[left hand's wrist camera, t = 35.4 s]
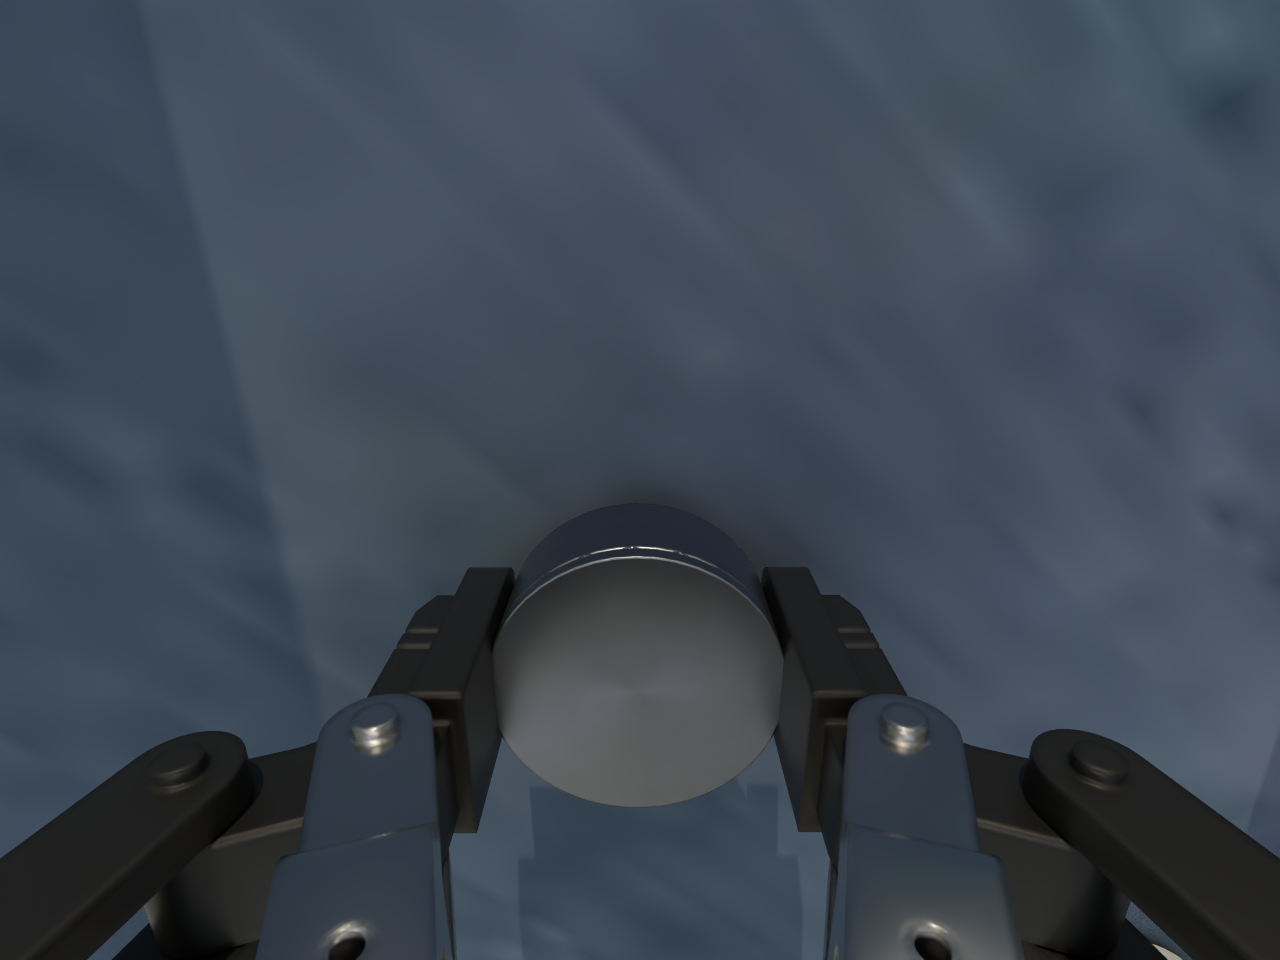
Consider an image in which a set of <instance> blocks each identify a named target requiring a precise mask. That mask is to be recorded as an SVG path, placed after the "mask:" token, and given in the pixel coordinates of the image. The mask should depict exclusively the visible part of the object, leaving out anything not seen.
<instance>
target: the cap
mask: <svg viewBox="0 0 1280 960" xmlns="http://www.w3.org/2000/svg"><path fill="white" fill-rule="evenodd" d="M492 661H493V673H494V684H495V696H496V707H497V719H498V729H499V731H500V733H501V735H502V737H503V739H504V740H505V742H506V743H507V744H508V746H509V747H510V749H511V750H512V752H513V753H514V754H515V755H516V756H517V757H518V758H519V759H520V760H521V761H522V763H523V764H524V765H525V766H527V767H528V768H529V769H530V770H531V771H533V772H534V773H535V774H536V775H537V776H539V777H540V778H542V779H543V780H545V781H546V782H548V783H549V784H551V785H553V786H555V787H557V788H558V789H560V790H562V791H564V792H566V793H569V794H571V795H574V796H577V797H579V798H582V799H585V800H588V801H592V802H596V803H600V804H605V805H612V806H619V807H637V808H639V807H657V806H663V805H669V804H675V803H679V802H683V801H686V800H690V799H693V798H696V797H698V796H701V795H704V794H706V793H709V792H711V791H713V790H715V789H716V788H718V787H720V786H722V785H724V784H726V783H727V782H729V781H730V780H732V779H733V778H735V777H736V776H738V775H739V774H740V773H741V772H742V771H744V770H745V769H746V768H747V767H748V766H749V765H750V764H752V763H753V761H754V760H755V759H756V758H757V757H758V756H759V755H760V754H761V752H762V751H763V750H764V749H765V747H766V746H767V744H768V743H769V741H770V740H771V738H772V737H773V735H774V732H775V730H776V728H777V726H778V722H779V711H780V699H781V687H782V675H783V663H784V653H783V650H782V647H781V644H780V641H779V637H778V634H777V632H776V629H775V625H774V622H773V619H772V616H771V613H770V610H769V607H768V604H767V601H766V598H765V595H764V592H763V589H762V586H761V583H760V580H759V578H758V576H757V574H756V571H755V569H754V567H753V565H752V564H751V562H750V561H749V559H748V558H747V556H746V555H745V554H744V552H743V551H742V550H741V549H740V548H739V547H738V545H737V544H736V543H735V542H734V541H733V540H732V539H731V538H730V537H728V536H727V535H726V534H725V533H723V532H722V531H721V530H720V529H718V528H717V527H715V526H714V525H712V524H711V523H709V522H707V521H706V520H704V519H701V518H699V517H697V516H695V515H693V514H690V513H688V512H685V511H681V510H679V509H675V508H672V507H666V506H660V505H655V504H638V503H634V504H632V503H630V504H622V505H615V506H609V507H604V508H600V509H596V510H593V511H589V512H587V513H584V514H582V515H580V516H578V517H576V518H574V519H572V520H570V521H568V522H566V523H565V524H563V525H562V526H560V527H558V528H557V529H555V530H554V531H553V532H552V533H550V534H549V535H548V536H547V537H546V538H545V539H543V540H542V541H541V542H540V543H539V545H538V546H537V547H536V548H535V549H534V550H533V551H532V552H531V554H530V555H529V557H528V558H527V560H526V561H525V563H524V564H523V566H522V568H521V570H520V572H519V574H518V576H517V578H516V581H515V584H514V587H513V590H512V592H511V595H510V598H509V601H508V604H507V607H506V610H505V612H504V615H503V618H502V621H501V624H500V627H499V630H498V633H497V635H496V638H495V641H494V644H493V648H492Z"/></svg>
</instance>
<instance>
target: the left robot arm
mask: <svg viewBox="0 0 1280 960" xmlns="http://www.w3.org/2000/svg"><path fill="white" fill-rule="evenodd" d="M514 584H515V576H514V572H513V569H512V568H469V569H468V570H467V572H466V574H465V576H464V578H463V580H462V582H461V584H460V586H459V588H458V590H457V592H456V594H455V595H437V596H436V597H435V598H433V599H432V600H431V601H429V602H428V603H427V604H425V605H424V606H423V607H421V608H420V609H419V610H417V611H416V612H415V614H414V616H413V618H412V620H411V621H410V623H409V625H408V627H407V628H406V633H405V634H403V635H402V637H401V639H400V641H399V642H398V644H397V649H394V651H393V653H392V655H391V656H390V658H389V660H388V662H387V663H386V665H385V667H384V669H383V670H382V672H381V674H380V676H379V677H378V679H377V681H376V683H375V684H374V686H373V688H372V690H371V691H370V693H369V695H368V697H367V698H365V699H362V700H359V701H357V702H355V703H352V704H350V705H348V706H347V707H345V708H343V709H342V710H340V711H339V712H337V713H336V714H335V715H334V716H332V717H331V718H330V719H329V720H328V721H327V723H326V724H325V725H324V726H323V728H322V730H321V731H320V734H319V737H318V741H317V742H315V743H312V744H309V745H306V746H303V747H300V748H296V749H292V750H287V751H283V752H278V753H274V754H269V755H265V756H260V757H256V758H251V759H248V755H247V751H246V747H245V745H244V742H243V741H242V740H241V739H240V738H239V737H237V736H236V735H233V734H231V733H228V732H221V731H205V732H197V733H192V734H188V735H184V736H181V737H177V738H175V739H172V740H169V741H167V742H164V743H162V744H160V745H158V746H156V747H154V748H152V749H150V750H148V751H147V752H145V753H143V754H142V755H141V756H139V757H138V758H136V759H135V760H133V761H132V762H131V763H129V764H128V765H127V766H125V767H124V768H122V769H121V770H120V771H118V772H117V773H116V774H114V775H113V776H112V777H110V778H109V779H108V780H106V781H105V782H103V783H102V784H101V785H99V786H98V787H97V788H95V789H94V790H93V791H91V792H90V793H89V794H87V795H86V796H85V797H83V798H82V799H80V800H79V801H78V802H76V803H75V804H74V805H72V806H71V807H70V808H68V809H67V810H66V811H64V812H63V813H62V814H60V815H59V816H57V817H56V818H55V819H53V820H52V821H51V822H49V823H48V824H47V825H45V826H44V827H43V828H41V829H40V830H38V831H37V832H36V833H34V834H33V835H32V836H30V837H29V838H28V839H26V840H25V841H24V842H22V843H21V844H20V845H18V846H17V847H15V848H14V849H13V850H11V851H10V852H9V853H7V854H6V855H5V856H3V857H2V858H1V859H0V960H87V959H88V958H89V957H90V956H91V955H92V954H93V953H94V952H95V951H96V950H97V949H99V948H100V947H101V946H102V945H103V944H104V943H105V942H106V941H107V940H108V939H109V938H110V937H111V936H112V935H113V934H114V933H115V932H116V931H117V930H119V929H120V928H121V927H122V926H123V925H124V924H125V923H126V922H127V921H128V920H129V919H130V918H131V917H132V916H133V915H134V914H135V913H136V912H137V911H139V910H140V909H141V908H142V907H143V906H144V908H145V911H146V914H147V917H148V920H149V922H150V923H149V924H148V925H147V926H146V927H145V928H144V929H143V930H142V931H141V932H140V933H138V934H137V935H136V936H135V937H134V938H133V939H132V940H131V941H130V942H129V943H128V944H127V945H126V946H125V947H124V948H123V949H122V950H121V951H120V952H119V953H118V954H117V955H116V956H115V957H114V958H113V959H112V960H457V950H456V933H455V916H454V900H453V883H452V870H451V862H450V854H449V846H450V842H451V839H452V836H453V833H477V830H478V826H479V823H480V819H481V815H482V811H483V808H484V804H485V800H486V796H487V792H488V789H489V785H490V781H491V777H492V774H493V770H494V766H495V762H496V758H497V755H498V751H499V747H500V743H501V740H502V735H501V733H500V731H499V729H498V719H497V707H496V696H495V684H494V673H493V661H492V648H493V644H494V641H495V638H496V635H497V633H498V630H499V627H500V624H501V621H502V618H503V615H504V612H505V610H506V607H507V604H508V601H509V598H510V595H511V592H512V590H513V587H514ZM761 586H762V589H763V592H764V595H765V598H766V601H767V604H768V607H769V610H770V613H771V616H772V619H773V622H774V625H775V629H776V632H777V634H778V637H779V641H780V644H781V647H782V650H783V653H784V663H783V675H782V687H781V699H780V711H779V722H778V726H777V728H776V730H775V732H774V738H775V742H776V746H777V750H778V754H779V758H780V762H781V765H782V769H783V773H784V777H785V781H786V785H787V789H788V793H789V796H790V800H791V804H792V808H793V812H794V816H795V820H796V824H797V827H798V831H799V832H822V834H823V838H824V841H825V845H826V848H827V851H828V855H829V857H830V862H829V870H828V883H827V900H826V916H825V933H824V950H823V960H1168V959H1167V958H1166V957H1165V956H1164V955H1163V954H1162V953H1161V952H1160V951H1159V950H1158V949H1157V948H1156V947H1155V946H1154V945H1153V944H1152V943H1151V942H1150V941H1149V940H1148V939H1147V938H1146V937H1145V936H1144V935H1143V934H1141V933H1140V932H1139V931H1138V930H1137V929H1136V928H1135V927H1134V926H1133V925H1132V924H1131V923H1130V922H1129V921H1128V920H1127V919H1126V918H1125V917H1126V914H1127V911H1128V908H1129V905H1130V902H1131V901H1132V902H1133V903H1134V904H1135V905H1136V906H1137V907H1138V908H1139V909H1140V910H1141V911H1143V912H1144V913H1145V914H1146V915H1147V916H1148V917H1149V918H1150V919H1151V920H1152V921H1153V922H1154V923H1155V924H1156V925H1157V926H1158V927H1159V928H1160V929H1161V930H1162V931H1164V932H1165V933H1166V934H1167V935H1168V936H1169V937H1170V938H1171V939H1172V940H1173V941H1174V942H1175V943H1176V944H1177V945H1178V946H1179V947H1180V948H1181V949H1182V950H1184V951H1185V952H1186V953H1187V954H1188V955H1189V956H1190V957H1191V958H1192V959H1193V960H1280V859H1279V858H1278V857H1277V856H1275V855H1274V854H1273V853H1271V852H1270V851H1269V850H1267V849H1266V848H1265V847H1263V846H1262V845H1260V844H1259V843H1258V842H1256V841H1255V840H1254V839H1252V838H1251V837H1250V836H1248V835H1247V834H1246V833H1244V832H1243V831H1241V830H1240V829H1239V828H1237V827H1236V826H1235V825H1233V824H1232V823H1231V822H1229V821H1228V820H1227V819H1225V818H1224V817H1223V816H1221V815H1220V814H1218V813H1217V812H1216V811H1214V810H1213V809H1212V808H1210V807H1209V806H1208V805H1206V804H1205V803H1204V802H1202V801H1201V800H1200V799H1198V798H1197V797H1195V796H1194V795H1193V794H1191V793H1190V792H1189V791H1187V790H1186V789H1185V788H1183V787H1182V786H1181V785H1179V784H1178V783H1176V782H1175V781H1174V780H1172V779H1171V778H1170V777H1168V776H1167V775H1166V774H1164V773H1163V772H1162V771H1160V770H1159V769H1158V768H1156V767H1155V766H1153V765H1152V764H1151V763H1149V762H1148V761H1147V760H1145V759H1144V758H1143V757H1141V756H1140V755H1138V754H1137V753H1135V752H1134V751H1132V750H1131V749H1129V748H1127V747H1125V746H1123V745H1122V744H1120V743H1117V742H1115V741H1113V740H1111V739H1108V738H1106V737H1103V736H1100V735H1097V734H1093V733H1090V732H1085V731H1080V730H1072V729H1056V730H1050V731H1047V732H1044V733H1042V734H1040V735H1039V736H1037V738H1036V739H1035V740H1034V741H1033V744H1032V747H1031V751H1030V755H1029V759H1028V758H1023V757H1019V756H1014V755H1010V754H1005V753H1001V752H996V751H992V750H987V749H983V748H979V747H975V746H971V745H968V744H966V743H963V741H962V737H961V734H960V731H959V730H958V728H957V726H956V725H955V724H954V723H953V721H952V720H951V719H950V718H949V717H948V716H946V715H945V714H944V713H943V712H941V711H940V710H938V709H937V708H935V707H933V706H932V705H930V704H928V703H925V702H923V701H921V700H918V699H915V698H912V697H908V696H907V694H906V692H905V690H904V688H903V687H902V685H901V683H900V681H899V680H898V678H897V676H896V674H895V672H894V671H893V669H892V667H891V665H890V664H889V662H888V660H887V658H886V656H885V655H884V653H883V651H882V649H879V644H878V642H877V640H876V639H875V637H874V635H873V633H870V628H869V626H868V624H867V622H866V621H865V619H864V617H863V615H862V614H861V612H860V610H858V609H857V608H856V607H854V606H853V605H852V604H850V603H849V602H848V601H846V600H845V599H844V598H842V597H841V596H840V595H821V594H820V592H819V589H818V587H817V585H816V583H815V581H814V579H813V577H812V575H811V573H810V571H809V569H808V568H807V567H765V568H764V569H763V573H762V581H761Z"/></svg>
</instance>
